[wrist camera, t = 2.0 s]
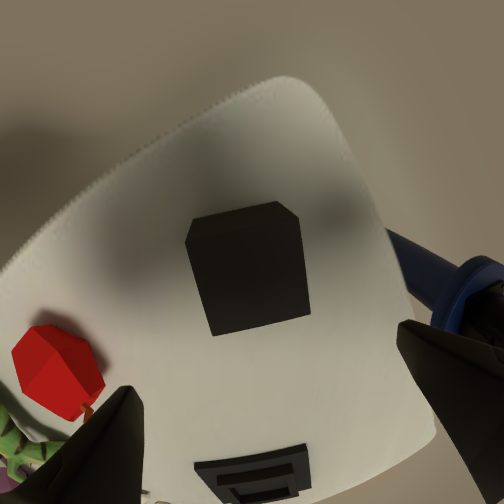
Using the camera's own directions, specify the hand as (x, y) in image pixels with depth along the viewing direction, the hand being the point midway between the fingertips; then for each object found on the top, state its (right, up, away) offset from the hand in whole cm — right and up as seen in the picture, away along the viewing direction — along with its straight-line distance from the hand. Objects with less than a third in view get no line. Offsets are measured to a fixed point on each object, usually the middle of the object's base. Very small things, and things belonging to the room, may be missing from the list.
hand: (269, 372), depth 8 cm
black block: (-1, +4, +9) cm, 10 cm away
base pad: (0, -23, +18) cm, 29 cm away
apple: (-15, -4, +10) cm, 18 cm away
